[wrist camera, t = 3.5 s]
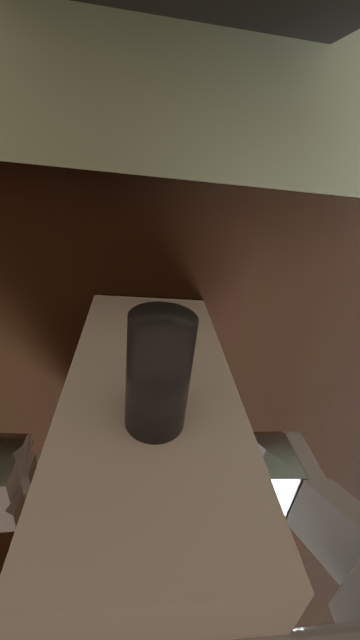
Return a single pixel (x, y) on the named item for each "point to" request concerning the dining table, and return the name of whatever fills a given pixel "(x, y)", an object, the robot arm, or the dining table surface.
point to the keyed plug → (151, 495)
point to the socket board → (186, 89)
